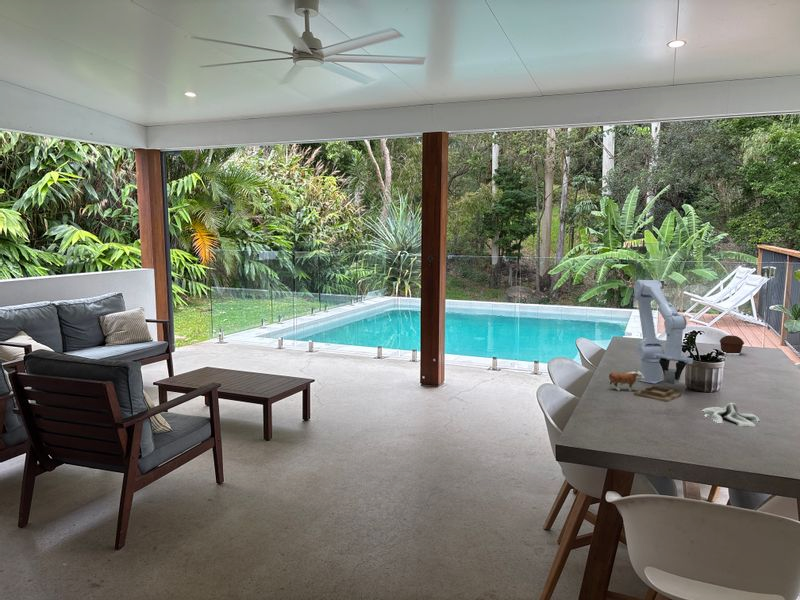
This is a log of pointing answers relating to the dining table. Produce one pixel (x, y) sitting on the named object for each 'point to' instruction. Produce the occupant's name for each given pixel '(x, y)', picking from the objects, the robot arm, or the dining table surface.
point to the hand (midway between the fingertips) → (671, 378)
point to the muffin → (731, 344)
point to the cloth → (731, 415)
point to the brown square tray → (658, 393)
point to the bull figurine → (625, 379)
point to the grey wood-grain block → (670, 376)
